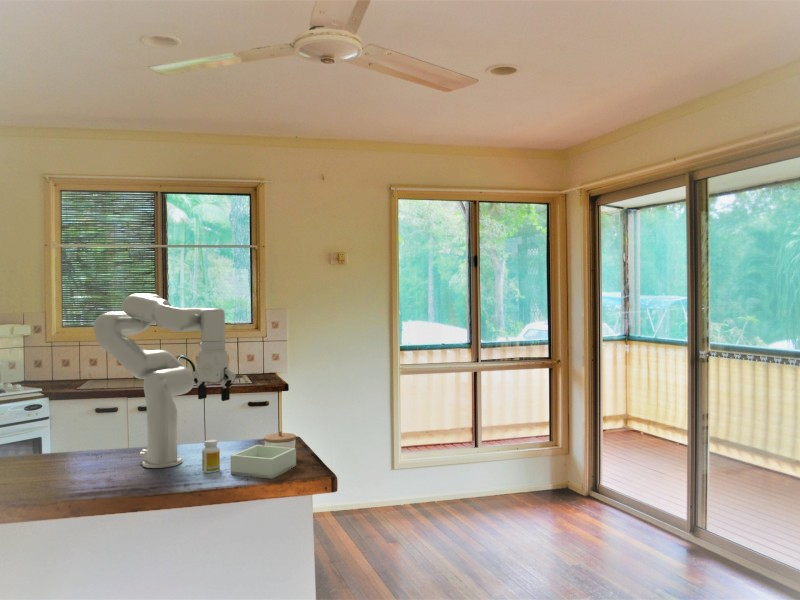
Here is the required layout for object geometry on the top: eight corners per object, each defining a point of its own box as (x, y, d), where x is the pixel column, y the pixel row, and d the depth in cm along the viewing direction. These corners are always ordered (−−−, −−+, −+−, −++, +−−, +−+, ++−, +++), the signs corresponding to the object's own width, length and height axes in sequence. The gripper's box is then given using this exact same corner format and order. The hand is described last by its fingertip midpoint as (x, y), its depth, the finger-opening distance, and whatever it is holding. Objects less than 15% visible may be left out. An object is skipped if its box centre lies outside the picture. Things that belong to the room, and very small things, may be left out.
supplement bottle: (223, 469, 203) (223, 439, 203) (211, 474, 198) (211, 443, 198) (210, 467, 205) (210, 438, 205) (198, 472, 201) (198, 441, 201)
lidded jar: (289, 453, 225) (288, 427, 225) (300, 459, 216) (300, 432, 215) (260, 457, 219) (260, 430, 219) (270, 464, 210) (270, 436, 210)
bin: (230, 474, 198) (230, 455, 198) (256, 462, 212) (256, 444, 212) (272, 478, 193) (272, 459, 193) (296, 466, 207) (296, 448, 207)
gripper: (184, 346, 202) (185, 399, 202) (225, 347, 195) (226, 402, 195) (201, 345, 209) (201, 396, 209) (241, 346, 201) (242, 399, 201)
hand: (213, 399), depth 202 cm, fingers open, 9 cm apart
